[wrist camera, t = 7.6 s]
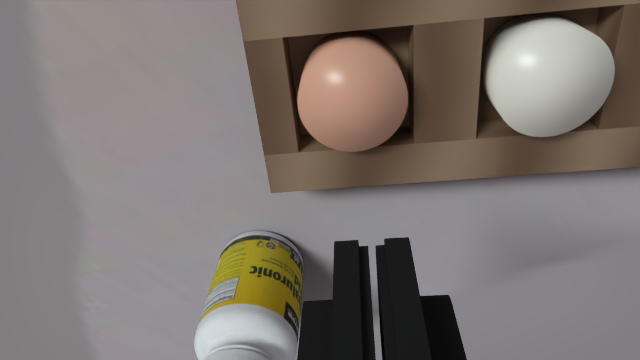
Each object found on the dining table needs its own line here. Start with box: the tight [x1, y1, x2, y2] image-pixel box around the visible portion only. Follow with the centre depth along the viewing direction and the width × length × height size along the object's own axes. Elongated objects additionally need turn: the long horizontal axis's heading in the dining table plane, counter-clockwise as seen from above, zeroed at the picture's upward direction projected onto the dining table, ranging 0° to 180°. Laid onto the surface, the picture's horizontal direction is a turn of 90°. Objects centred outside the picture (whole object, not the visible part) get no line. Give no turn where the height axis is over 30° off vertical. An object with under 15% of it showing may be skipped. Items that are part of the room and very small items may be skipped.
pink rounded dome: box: [297, 30, 408, 152], centre depth 22 cm, size 5×5×3 cm
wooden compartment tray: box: [236, 0, 640, 193], centre depth 22 cm, size 26×10×3 cm, turn 96°
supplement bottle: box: [194, 231, 304, 360], centre depth 27 cm, size 5×5×10 cm
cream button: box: [480, 12, 615, 137], centre depth 22 cm, size 5×5×3 cm
